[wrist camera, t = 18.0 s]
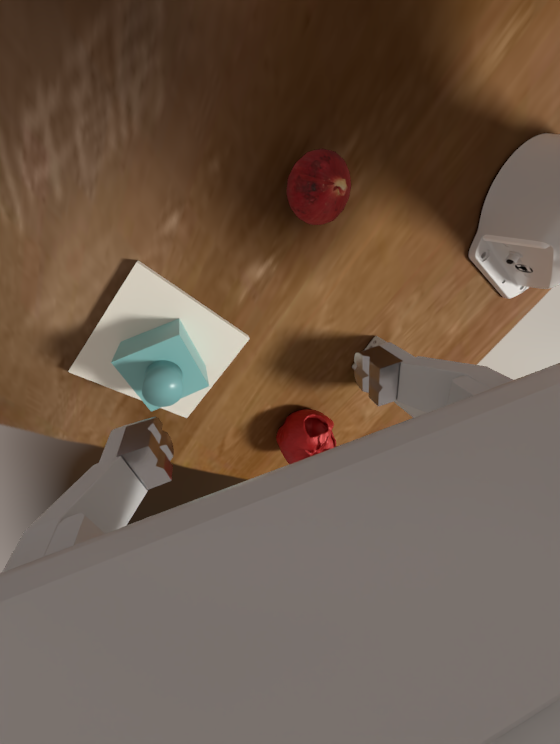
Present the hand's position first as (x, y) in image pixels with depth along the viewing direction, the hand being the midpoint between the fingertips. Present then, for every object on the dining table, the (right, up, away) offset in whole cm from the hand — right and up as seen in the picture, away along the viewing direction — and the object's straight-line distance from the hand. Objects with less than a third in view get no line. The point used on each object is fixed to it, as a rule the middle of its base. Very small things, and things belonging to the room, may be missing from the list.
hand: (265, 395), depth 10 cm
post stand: (-13, +4, +20) cm, 24 cm away
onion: (+3, +20, +17) cm, 26 cm away
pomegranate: (+4, -8, +34) cm, 36 cm away
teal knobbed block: (-13, +3, +19) cm, 23 cm away
